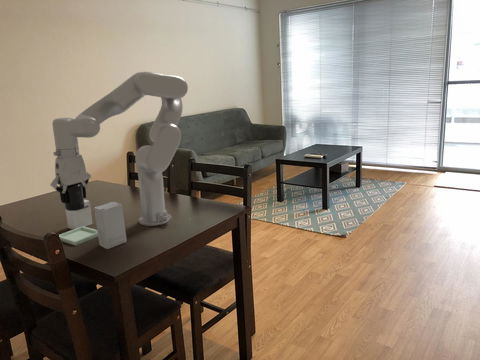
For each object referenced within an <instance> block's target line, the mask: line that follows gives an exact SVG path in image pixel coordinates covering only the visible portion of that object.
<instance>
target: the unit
mask: <svg viewBox="0 0 480 360" xmlns="http://www.w3.org/2000/svg"><path fill="white" fill-rule="evenodd" d="M84 205H85V206H84V208H82V209H80V210H76V211H68V210H66V209H65V208H64V210H65V215H66V216H65V217H66V222H67V228H68V229H70V230H74V229H76V228H79V227H82V226H84V227H88V226H91V225H93V217H92V216H93V215H92V207H91V201H90V200H88V199H84Z"/></svg>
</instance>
